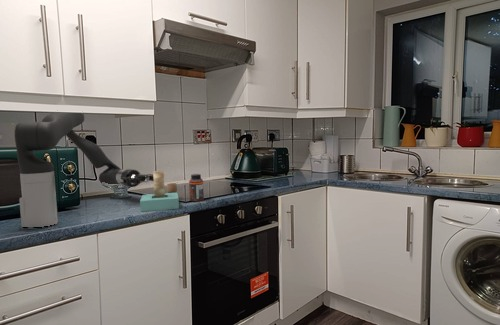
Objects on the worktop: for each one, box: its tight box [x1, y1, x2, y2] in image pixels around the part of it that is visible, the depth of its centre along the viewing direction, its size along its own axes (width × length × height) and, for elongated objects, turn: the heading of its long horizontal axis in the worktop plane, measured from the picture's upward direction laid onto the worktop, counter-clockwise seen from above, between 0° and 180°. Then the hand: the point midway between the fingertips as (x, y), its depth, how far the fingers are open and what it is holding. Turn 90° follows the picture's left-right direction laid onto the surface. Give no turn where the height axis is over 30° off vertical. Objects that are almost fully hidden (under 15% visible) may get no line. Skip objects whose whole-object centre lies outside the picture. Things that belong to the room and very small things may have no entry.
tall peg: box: [152, 170, 166, 198], centre depth 132 cm, size 4×4×14 cm
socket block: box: [139, 192, 180, 212], centre depth 132 cm, size 14×14×4 cm
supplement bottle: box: [188, 173, 205, 203], centre depth 142 cm, size 6×6×11 cm
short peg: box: [166, 182, 178, 193], centre depth 146 cm, size 4×4×7 cm
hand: (148, 180), depth 137 cm, fingers open, 8 cm apart
